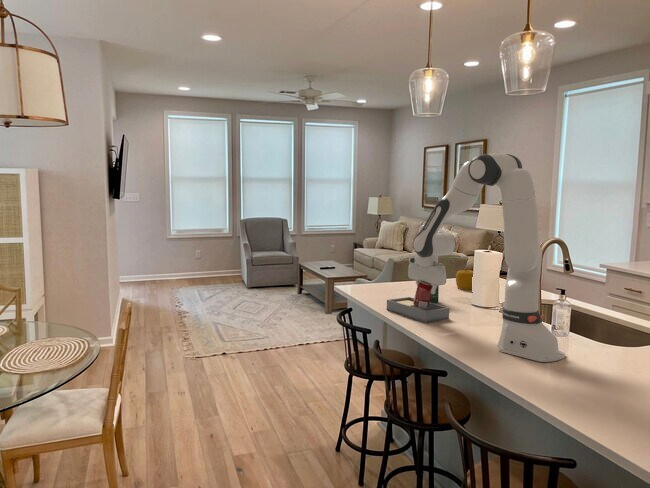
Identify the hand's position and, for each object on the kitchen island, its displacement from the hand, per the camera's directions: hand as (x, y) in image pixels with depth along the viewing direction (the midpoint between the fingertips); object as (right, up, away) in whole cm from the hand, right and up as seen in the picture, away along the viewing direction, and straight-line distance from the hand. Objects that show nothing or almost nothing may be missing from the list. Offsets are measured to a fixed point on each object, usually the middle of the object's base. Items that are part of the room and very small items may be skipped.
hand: (426, 292), depth 213 cm
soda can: (-2, -7, +3) cm, 8 cm away
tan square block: (-6, -9, +11) cm, 16 cm away
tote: (-3, -11, +6) cm, 12 cm away
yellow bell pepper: (+34, -6, +60) cm, 69 cm away
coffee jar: (+8, -9, +30) cm, 32 cm away
